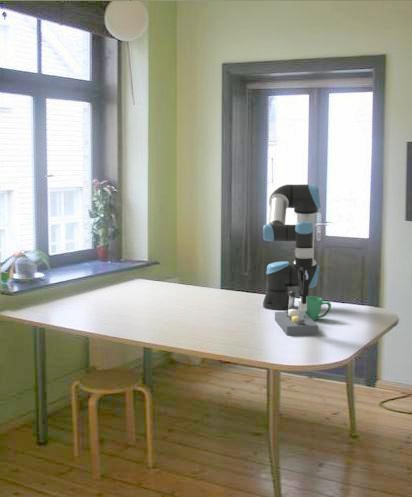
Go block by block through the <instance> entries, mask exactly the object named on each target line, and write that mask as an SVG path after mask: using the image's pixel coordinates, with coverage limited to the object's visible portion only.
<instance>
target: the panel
mask: <svg viewBox="0 0 412 497" xmlns="http://www.w3.org/2000/svg"><path fill="white" fill-rule="evenodd" d="M274 321H275V322H276V324H277V325H278V326H279V327H280V328H281V330H282V331H283V332H284V334H285V335H286V336H309V335H311V336H312V335H313V336H315V335H316V334H317V335H319V325H318V324H317V323H316V322H315V320H312V319H311V318H310V317H309V316H308V315H307V314H306V313H305V312H304V322H292V318H288V310H287V311H275V312H274Z"/></svg>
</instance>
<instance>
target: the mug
mask: <svg viewBox="0 0 412 497" xmlns="http://www.w3.org/2000/svg"><path fill="white" fill-rule="evenodd" d="M322 305H327V306H328V307H327V310H326V311H325V312H324V314H321V315H320V313H321V309H322ZM331 307H332V303H331V302H330V301H327V300H325V301H323V298H322V297H320V296H319V297H318V296H307V311H304V312H305V313H306V314H307V315H308V316H309V317H310V318H311V319H312V320H313V321H316V320H318V319H321V318H324V317H325V316H327V315H328V314H329V313H330V312H331Z"/></svg>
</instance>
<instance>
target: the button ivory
mask: <svg viewBox="0 0 412 497" xmlns="http://www.w3.org/2000/svg"><path fill="white" fill-rule="evenodd" d="M287 311H288V318H292V316H298V308H294V309H289V310H288V309H287Z"/></svg>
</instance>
